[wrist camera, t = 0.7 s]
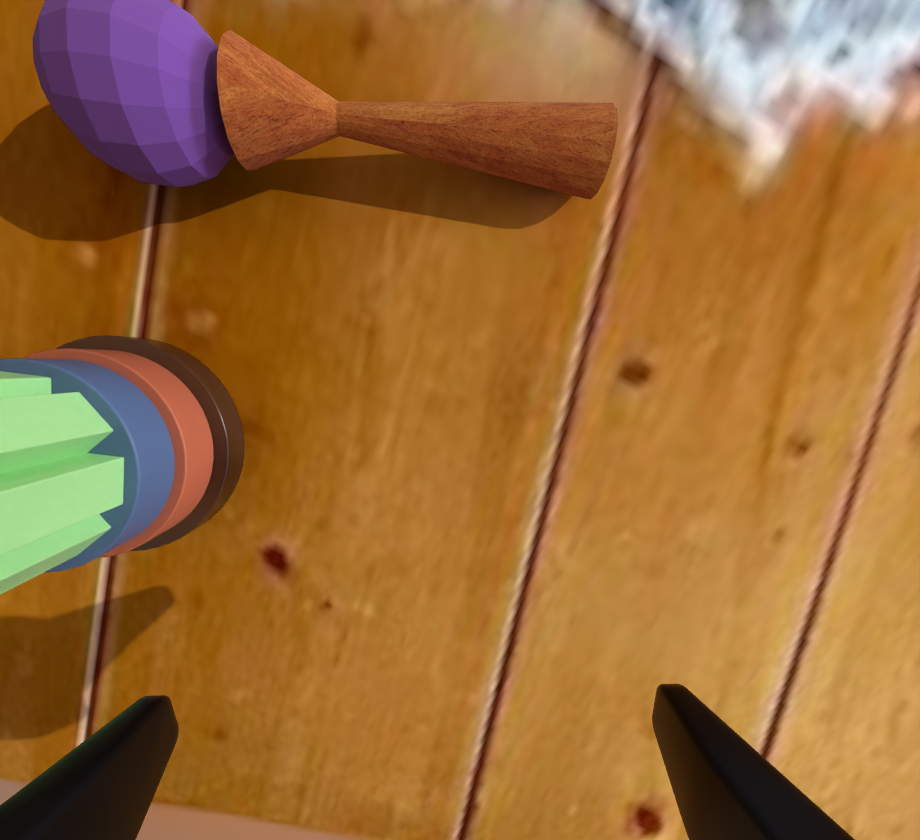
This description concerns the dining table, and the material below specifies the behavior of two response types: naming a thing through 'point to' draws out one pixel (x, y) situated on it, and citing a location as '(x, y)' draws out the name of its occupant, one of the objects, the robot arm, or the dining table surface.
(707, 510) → the dining table surface
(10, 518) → the green ring
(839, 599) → the dining table surface
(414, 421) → the dining table surface
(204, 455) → the stacking stand
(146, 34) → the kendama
